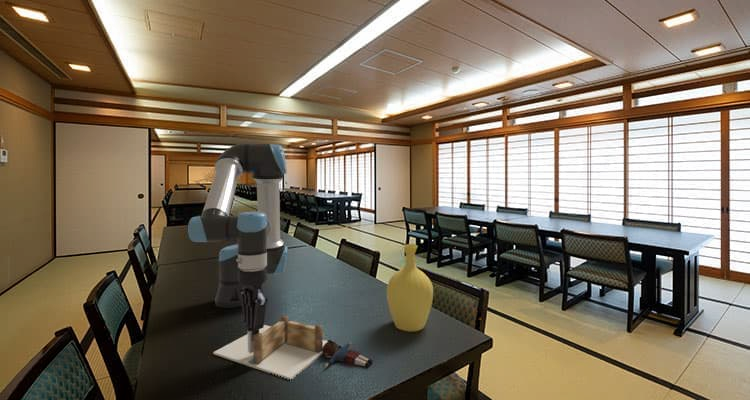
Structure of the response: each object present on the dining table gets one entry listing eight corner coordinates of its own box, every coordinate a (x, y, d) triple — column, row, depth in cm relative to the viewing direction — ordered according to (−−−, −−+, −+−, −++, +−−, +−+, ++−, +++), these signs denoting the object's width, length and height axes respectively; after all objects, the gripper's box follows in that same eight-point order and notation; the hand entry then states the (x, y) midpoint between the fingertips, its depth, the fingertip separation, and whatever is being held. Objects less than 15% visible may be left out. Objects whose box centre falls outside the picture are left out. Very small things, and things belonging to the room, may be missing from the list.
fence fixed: (286, 343, 98) (286, 320, 98) (291, 340, 100) (291, 317, 100) (319, 352, 93) (319, 328, 93) (324, 349, 95) (324, 325, 95)
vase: (427, 339, 104) (429, 251, 102) (380, 330, 109) (380, 248, 108) (436, 319, 119) (437, 243, 117) (394, 312, 124) (394, 240, 123)
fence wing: (283, 337, 102) (283, 314, 101) (289, 338, 101) (289, 315, 100) (251, 362, 88) (251, 336, 87) (258, 363, 87) (258, 337, 87)
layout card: (213, 354, 94) (213, 351, 94) (264, 326, 112) (264, 324, 112) (290, 380, 82) (290, 377, 82) (334, 344, 100) (334, 342, 100)
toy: (380, 357, 95) (335, 343, 101) (381, 342, 95) (336, 328, 101) (358, 384, 82) (309, 366, 88) (359, 366, 82) (310, 349, 88)
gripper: (229, 265, 92) (231, 346, 94) (249, 275, 83) (250, 365, 84) (255, 261, 98) (256, 338, 99) (276, 270, 88) (277, 354, 90)
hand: (253, 350), depth 92 cm, fingers closed
